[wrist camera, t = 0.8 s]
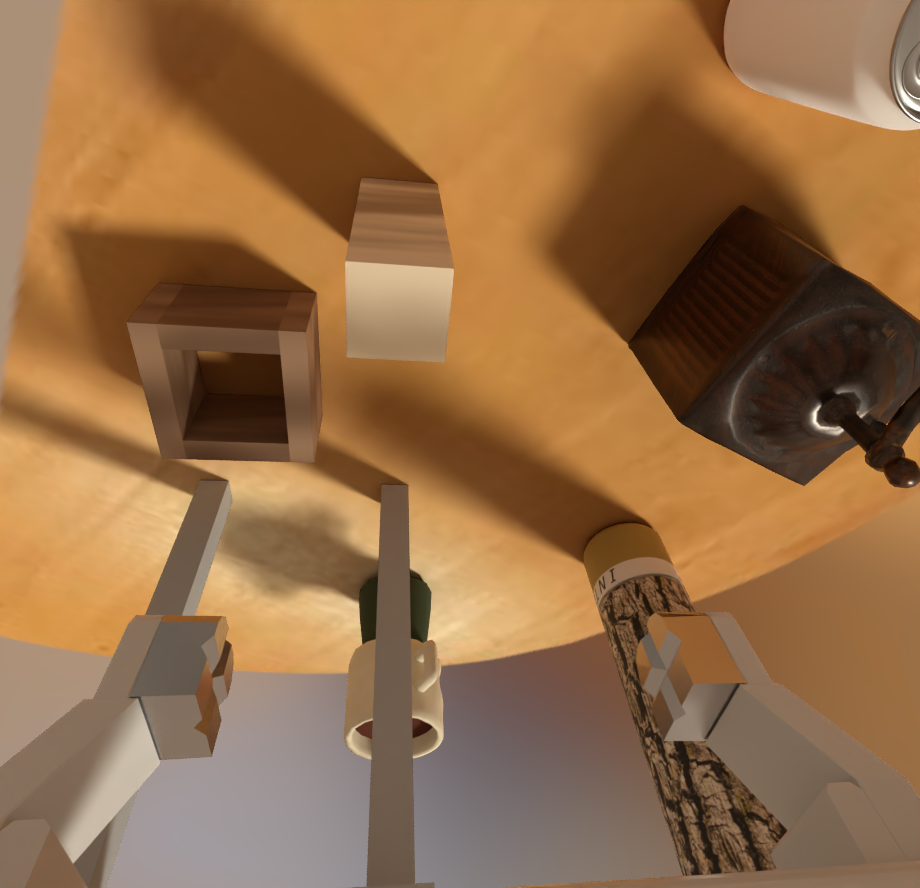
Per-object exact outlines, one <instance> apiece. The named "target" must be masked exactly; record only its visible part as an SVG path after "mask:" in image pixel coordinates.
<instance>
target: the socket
mask: <svg viewBox="0 0 920 888" xmlns="http://www.w3.org/2000/svg"><path fill="white" fill-rule="evenodd" d="M126 324H127V327H128V331H129V335H130V339H131V343H132V346H133V350H134V354H135V358H136V362H137V365H138V369H139V373H140V377H141V381H142V384H143V388H144V392H145V396H146V400H147V404H148V407H149V411H150V415H151V419H152V423H153V426H154V430H155V434H156V438H157V442H158V445H159V449H160V453H161V457H162V459H198V460H234V461H271V462H307V463H314V460H315V454H316V449H317V443H318V438H319V432H320V427H321V421H322V395H321V374H320V353H319V332H318V311H317V293H310V292H294V291H278V290H262V289H246V288H230V287H215V286H199V285H183V284H167V283H158V284H157V285H156V287H155V288H154V289H153V290H152V291H151V293H150V294H149V295H148V296H147V298H146V299H145V300H144V301H143V302H142V304H141V305H140V306H139V307H138V309H137V310H136V311H135V312H134V314H133V315H132V316H131V317H130V318H129V320H128V321H127V322H126ZM197 351H217V352H237V353H257V354H277V355H281V366H282V377H283V387H284V397H275V396H251V395H227V394H205V391H204V386H203V381H202V375H201V370H200V365H199V360H198V354H197Z"/></svg>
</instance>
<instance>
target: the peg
mask: <svg viewBox="0 0 920 888" xmlns="http://www.w3.org/2000/svg"><path fill="white" fill-rule="evenodd" d="M345 270H346V335H347V358H366V359H387V360H407V361H427V362H445V356H446V346H447V336H448V326H449V316H450V306H451V295H452V285H453V275H454V265H453V260H452V255H451V250H450V245H449V240H448V235H447V230H446V225H445V219H444V214H443V209H442V204H441V199H440V194H439V189H438V184H433V183H422V182H410V181H399V180H388V179H376V178H365V177H362V178H361V183H360V188H359V194H358V199H357V204H356V209H355V214H354V219H353V224H352V230H351V235H350V240H349V245H348V250H347V255H346V260H345Z"/></svg>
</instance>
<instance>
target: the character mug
mask: <svg viewBox="0 0 920 888" xmlns="http://www.w3.org/2000/svg"><path fill="white" fill-rule="evenodd" d="M377 593H378V578H375V579H372V580H370V581H368V582H367V583H366V584H365V585H364V586H363V588H362V589H361V590H360V598H359V608H360V624H361V634H362V644H363V645H361V646H360V647H358V648H357V649H355V651H354V653H353V655H352V658H351V660H350V664H349V672H348V686H347V698H346V712H345V725H344V726H345V727H344V739H345V743H346V747H347V748H348V749H350V750H351V751H352V752H353V753H354V754H355V755H358V756H361V757H364V758H367V759H369V760H371V755H372V728H373V701H374V674H375V647H376V620H377ZM430 610H431V591H430V589H429V587H428V585H427V584H426V583H425V582H422V581H420V580H418V579H415V578H411V577H410V619H411V678H412V738H413V758H416V757H420V756H423V755H425V754H427V753H430V752H431V751H433V750H434V749H436V748H437V747H438V746H439V745H440V744H441V742H442V740H443V699H442V693H441V689H440V684H439V677H440V673H441V664H440V660H439V659H438V658H437V647H436V644H435V643H434V641H433V640H429V641H427V637H428V628H429V619H430Z"/></svg>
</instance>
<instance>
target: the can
mask: <svg viewBox="0 0 920 888" xmlns="http://www.w3.org/2000/svg"><path fill="white" fill-rule="evenodd" d="M724 49H725V56H726V60H727V62H728V65H729V67H730V69H731V70H732V72H733V73H734V75H735V76H736V77H737V78H738V79H739V80H740V81H741V82H742V83H744V84H745V85H746V86H748V87H750V88H751V89H753V90H756V91H758V92H761V93H764V94H767V95H770V96H774V97H777V98H780V99H784V100H787V101H790V102H794V103H797V104H800V105H804V106H807V107H810V108H814V109H817V110H821V111H824V112H827V113H831V114H834V115H838V116H841V117H845V118H848V119H852V120H855V121H859V122H862V123H866V124H870V125H873V126H877V127H882V128H886V129H892V130H915V129H920V0H730V3H729V6H728V9H727V13H726V18H725V25H724Z"/></svg>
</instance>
